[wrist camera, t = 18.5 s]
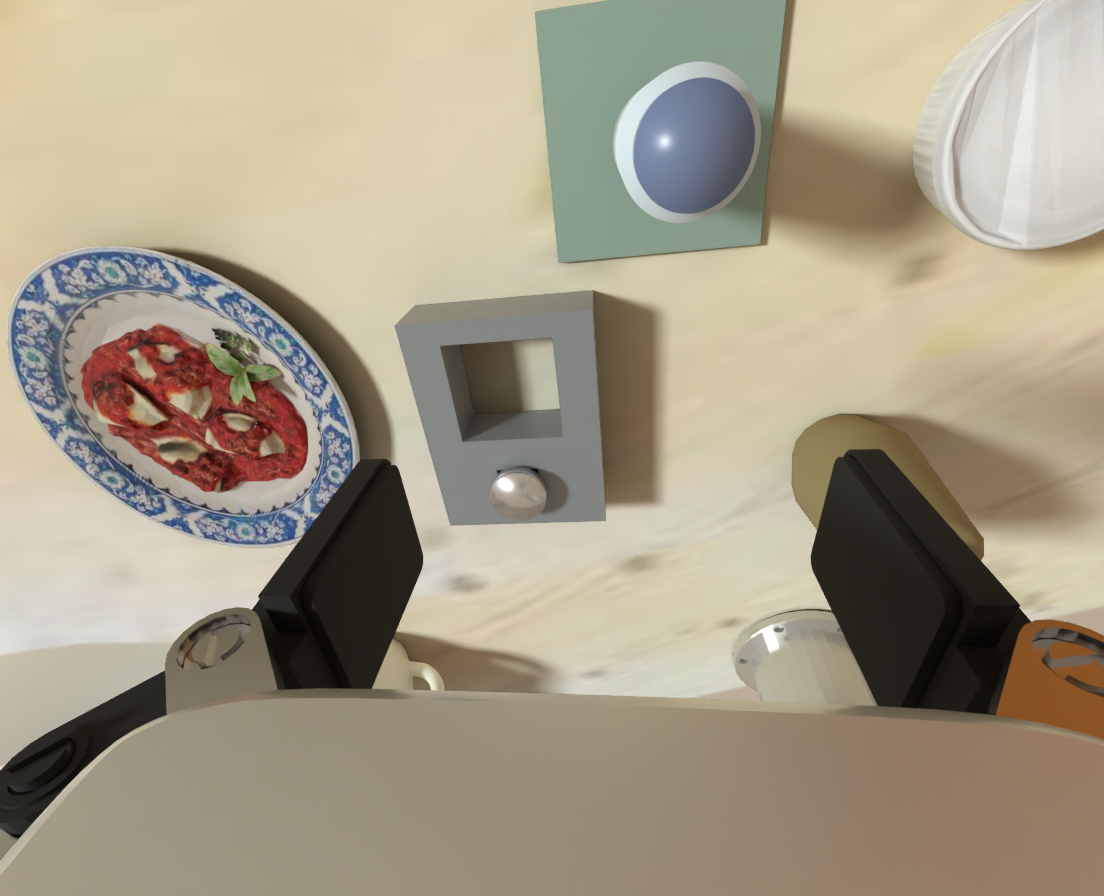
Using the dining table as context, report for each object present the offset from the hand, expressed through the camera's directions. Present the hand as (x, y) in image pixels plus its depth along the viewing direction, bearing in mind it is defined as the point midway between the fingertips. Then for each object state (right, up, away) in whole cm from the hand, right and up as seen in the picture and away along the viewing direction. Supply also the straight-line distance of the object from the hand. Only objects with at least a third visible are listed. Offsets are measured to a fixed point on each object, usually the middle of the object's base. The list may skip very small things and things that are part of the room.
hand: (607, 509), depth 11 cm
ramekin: (+23, +19, +15) cm, 33 cm away
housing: (-4, +5, +26) cm, 27 cm away
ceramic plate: (-29, +4, +29) cm, 41 cm away
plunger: (-3, 0, +28) cm, 28 cm away
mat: (+5, +18, +17) cm, 25 cm away
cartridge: (+5, +18, +16) cm, 25 cm away
